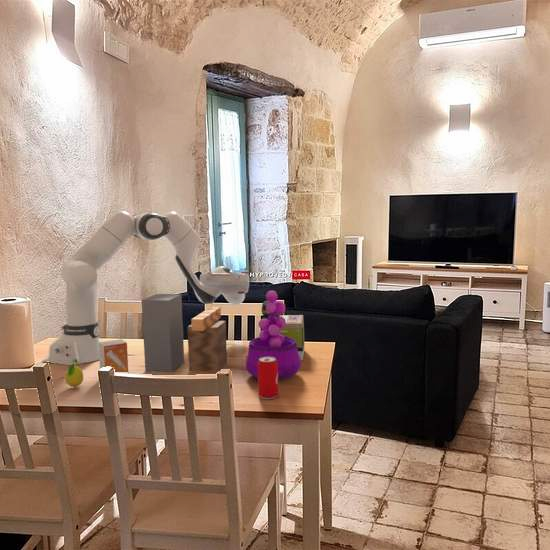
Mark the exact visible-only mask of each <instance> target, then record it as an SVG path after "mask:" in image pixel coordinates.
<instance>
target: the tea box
mask: <svg viewBox="0 0 550 550" xmlns="http://www.w3.org/2000/svg"><path fill="white" fill-rule="evenodd" d="M279 317H283V318H284V319H285V321H286V324H285V326H283V328H280V332H279V334H281V335H283V336H285V337H290V338H293V339H295V340H296V343H297V349H298V353H299V357H300V361H303V360H304V355H305V323H304V322H305V321H304V319H305V318H304V315H303V314H294V315H293V314H287V315H285V314H284V315H280V316H279Z"/></svg>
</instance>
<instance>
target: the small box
mask: <svg viewBox="0 0 550 550" xmlns="http://www.w3.org/2000/svg"><path fill="white" fill-rule="evenodd" d="M99 358H100V359H99V369H100V368H102V367H106V366H111V367H114V369H115V372H128V373H129V358H128V342H127V341H125V340H123V339H122V338H121V339H120V338H119V339H112V340H108V341H107V340H106V341H101V342H100V341H99Z"/></svg>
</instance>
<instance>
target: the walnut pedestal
mask: <svg viewBox="0 0 550 550" xmlns="http://www.w3.org/2000/svg"><path fill="white" fill-rule="evenodd" d="M226 321H227V320H217V321H216V322H214V323H213V324H211V325H210V326H209V327H207V328H206V329H205V330H203V331H192V323H191V324H189V325H188V326H187V345H188V347H187V349H188V350H187V351H188V371H193V370H195V371H194V372H197V371H199V372H220V371H221V370H222V368H224V366H225V365H226V364H227V363H228V357H227V356H228V352H227V351H228V349H227V322H226ZM220 369H221V370H220ZM219 370H220V371H219Z"/></svg>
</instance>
